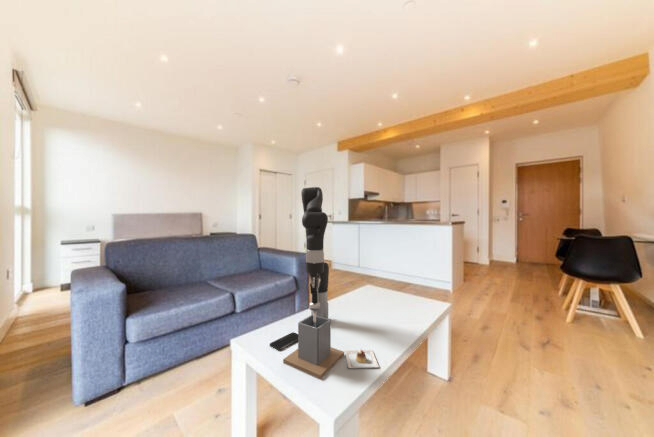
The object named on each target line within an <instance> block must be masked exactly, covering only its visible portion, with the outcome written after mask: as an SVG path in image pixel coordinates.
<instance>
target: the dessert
mask: <svg viewBox="0 0 654 437" xmlns="http://www.w3.org/2000/svg"><path fill="white" fill-rule="evenodd" d="M344 354H345V358H346V362H347V367H348V369H369V368H370V369H374V368H375V369H376V368H377V369H378V368H380V365H379V363H378V361H377V358H376V356H375V353H374V350H372V349H368V350H367V349H364V350H362V349H358V350H344ZM349 354H356V357H355V361H356V362H357V363H358V364H365V363H367V361H368V359H367V356H366V354H370V357H371V359H372V363H373V364H374V366H352V365H351V361H350V356H349Z"/></svg>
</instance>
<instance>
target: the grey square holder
mask: <svg viewBox="0 0 654 437" xmlns="http://www.w3.org/2000/svg"><path fill="white" fill-rule="evenodd" d="M331 322H332V321H331V319H329V318H328V319H326V318H323V317H319V316H316V327H313V315H309V316H307V317H305V318H304V319H302V320H300V321H299V322H298V323H297V327H298V328H297V329H298V330H297V334H298V342H297V349H295V350H294V351H293V352H292V353H290V354H289V355H287V356H286V357H284V358H282V363H283V364H285V365H287V366H289V367H292V369H293V368H294V369H296V370H298V371H300V372H303V373H304V374H307V375H309V376H311V377H314V378H315V379H318V380H321V379H323V377H324V376H325V375H327V373H328V372H329V371H330V370H331V369H332V368H333V367H334V366H336V364H337V363H338V362H340V360H342V359H343V357H344V356H345V351H343V350H340V349H337V348H335V347H332V346H331V338H332V336H331V335H332V334H331V331H332V330H331V328H332V327H331V324H332V323H331Z"/></svg>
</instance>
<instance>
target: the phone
mask: <svg viewBox="0 0 654 437" xmlns="http://www.w3.org/2000/svg"><path fill="white" fill-rule="evenodd" d="M296 342H297V343H298V332H297V333H296V332H290V333H288V334H286V335H284V336H282V337H279V338H277V339H276V340H274V341H271V342H270V343H269V347H270V346H271V347H270V348H272V347H273V349H274V348H275V349H276V350H275V349H274V350H275V351H277V350H278V351H277V352H281V351H284V350H285V348H286V349H288V348H289V347H292V346H293V345H295V344H297V343H296Z"/></svg>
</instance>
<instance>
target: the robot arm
mask: <svg viewBox="0 0 654 437" xmlns="http://www.w3.org/2000/svg"><path fill="white" fill-rule="evenodd" d="M300 193H301V202H302V208H303V209H302V210H303V215H302V217H301V218H302V219H301V224H302V226H303V228H305V238H306V242H305V243H306V246H305V248H306V251H305V272H306V273H307V274H308V275H309V283H310V284H309V288H310V289H309V290H310V294H311V298H310V299H311V301H312V303H317V301H319V302H320V309H319V310H316V316H319V317H323V318H326V319H329V302H328V300H329V299H328V297H329V293H328V292H329V291H328V289H329V275H330V269H329V268H330V266H329V264H328V263H327V262H325V253H324V252H325V251H324V239H325V234H326V229H327V227H328V222H329V218H328V215H327V213H326V212H323V209H322V206H323V200H324V198H323V190H322V188H320V187H317V186H314V187H304V188H302V189H301V192H300ZM311 301H310V302H311ZM310 311H311V315H313V310H310ZM311 315H310V316H311Z"/></svg>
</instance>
